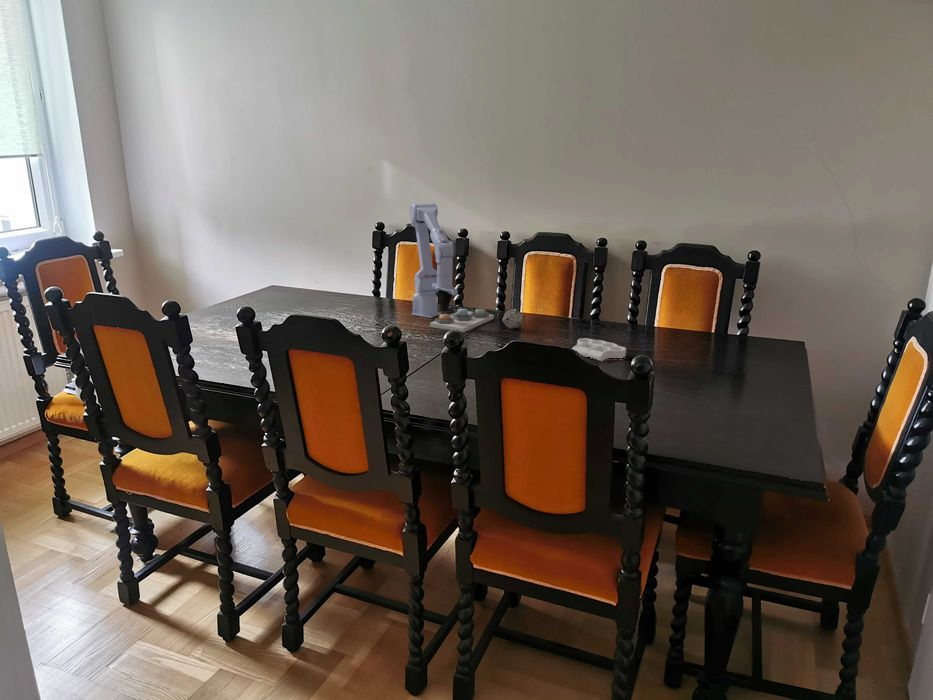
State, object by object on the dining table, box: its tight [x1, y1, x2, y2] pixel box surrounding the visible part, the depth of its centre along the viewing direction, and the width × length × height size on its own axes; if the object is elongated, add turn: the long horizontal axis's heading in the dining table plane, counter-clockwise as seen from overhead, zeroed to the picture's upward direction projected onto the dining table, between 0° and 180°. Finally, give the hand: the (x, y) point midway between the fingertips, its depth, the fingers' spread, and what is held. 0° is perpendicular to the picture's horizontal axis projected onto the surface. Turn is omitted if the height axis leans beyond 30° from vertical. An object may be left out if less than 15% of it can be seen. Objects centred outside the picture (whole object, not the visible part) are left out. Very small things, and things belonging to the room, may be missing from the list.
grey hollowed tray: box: [571, 337, 627, 362], centre depth 233 cm, size 3×18×15 cm
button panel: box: [429, 310, 495, 333], centre depth 269 cm, size 15×24×3 cm, turn 151°
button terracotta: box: [438, 313, 451, 320], centre depth 264 cm, size 4×4×2 cm
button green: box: [474, 308, 486, 315], centre depth 273 cm, size 4×4×2 cm
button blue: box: [456, 308, 469, 317], centre depth 268 cm, size 4×4×2 cm
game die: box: [499, 307, 526, 331], centre depth 260 cm, size 9×8×10 cm
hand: (444, 310), depth 263 cm, fingers closed
